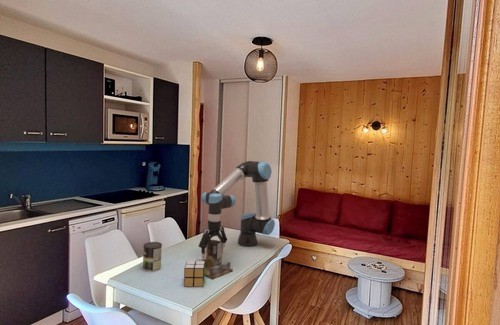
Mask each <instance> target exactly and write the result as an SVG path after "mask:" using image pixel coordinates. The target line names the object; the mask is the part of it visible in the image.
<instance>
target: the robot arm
mask: <svg viewBox="0 0 500 325" xmlns="http://www.w3.org/2000/svg"><path fill="white" fill-rule="evenodd" d="M271 177H272V167H271V165H270V164H269V163H268V162H266V161H257V160H256V161H255V160H254V161H253V160H248V161H245V162H244V161H243V162H242V163H240V164H239V165H237V166H236V167H234V168H233V170H232V172H231V173H230V174H229V175H227V177H225V178H224V179H222V181H220V183H218V184H217V185H216V186H215V187H214V188H212V190H210V191H205V192H203V193H202V194H201V201H202V203H203V204H205V205H207V206H208V214H207V215H208V216H207V227H208V229H204V230H203V234H202V236H201V240H200V241H199V244H198V247H199V248H201V250H200V251H201V259H205V260H206V248H205V247H206V246H207V244H208V242H209V241H210V239H211V240H212V238H214V237H218V239H219V241H222V255H223V254H224V251H225V250H224V249H225V244H226V243H227V241H228V238H227V237H228V236H227V235H226V231H225V227H224V226H222V222H221V220H222V210H224V209H229V208H232V207H234V206H235V205H236V198H235V196H234V195H232V194H227V193H228V191H230V189H232V188H233V187H234V186H235V185H236V184H237V183H239V181H242V180H244V179H245V178H251V182H252V183H254V192H255V206H256V208H255V209H256V213H254V212H247V213H243V214H241V217H240V232H239V236H238V239H237V244H238V245H239V246H242V247H256V246H257V245H258V239H257V234H256V233H258V234H261V235H264V236H265V235H266V236H269V235H271V234H272V233H273V231H274V228H275V224H276V222H275V220H274V219H273V218H272V215H271V214H270V212H269V200H268V199H269V198H268V182H269V180H270V178H271ZM226 194H227V195H226Z"/></svg>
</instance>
